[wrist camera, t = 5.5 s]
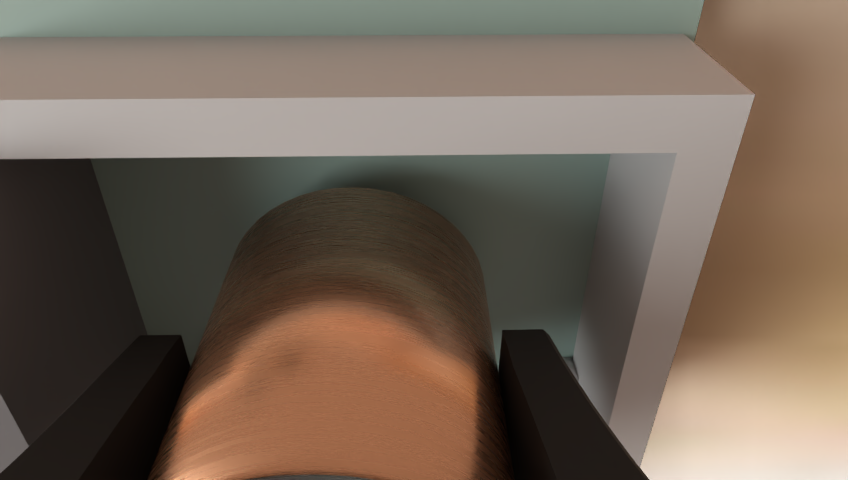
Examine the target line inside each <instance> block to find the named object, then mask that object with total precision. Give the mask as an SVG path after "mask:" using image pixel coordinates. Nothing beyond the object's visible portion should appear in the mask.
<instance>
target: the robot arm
mask: <svg viewBox="0 0 848 480" xmlns="http://www.w3.org/2000/svg"><path fill="white" fill-rule="evenodd" d="M189 370H190V364H189V360H188V357H187V353H186V350H185V346H184V343H183V339H182V336H181V335H140V336H139V337H138V338H137V339H136V340H135V341H134V342H133V343H132V344H131V345H130V346H129V347H127V348H126V349H125V350H124V351H123V352H122V353H121V354H120V355H119V356H118V357H117V358H116V359H115V360H114V361H113V362H112V363H111V364H110V365H109V366H108V368H107V369H106V370H105V371H104V372H103V373H102V374H101V375H100V376H99V377H98V378H97V379H96V380H95V381H94V382H93V383H92V384H91V385H90V386H89V387H88V388H87V389H86V390H85V391H84V392H83V393H82V394H81V395H80V396H79V397H78V398H77V399H76V400H75V401H74V402H73V403H72V404H71V405H70V406H69V407H68V408H67V409H66V410H65V411H64V412H63V413H62V414H61V415H60V416H59V417H58V418H57V419H56V420H55V421H54V422H53V423H52V424H51V425H50V426H49V427H48V428H47V429H46V430H45V431H44V432H43V433H42V434H41V435H40V436H39V437H38V438H37V439H36V440H35V441H34V442H33V443H32V444H31V445H30V446H29V447H28V448H27V449H26V450H24V451H23V452H22V453H21V454H20V455H19V456H18V457H17V458H16V459H15V460H14V461H13V462H12V463H11V464H10V465H9V466H8V467H7V468H6V469H4V470H3V471H2V472H1V473H0V480H147V479H148V476H149V474H150V471H151V468H152V466H153V463H154V461H155V458H156V455H157V453H158V450H159V448H160V445H161V442H162V440H163V437H164V435H165V432H166V429H167V427H168V424H169V422H170V419H171V416H172V414H173V411H174V409H175V406H176V403H177V401H178V398H179V396H180V393H181V390H182V388H183V385H184V383H185V380H186V377H187V375H188V372H189ZM498 375H499V381H500V388H501V394H502V401H503V407H504V414H505V420H506V427H507V433H508V440H509V446H510V453H511V459H512V466H513V472H514V479H515V480H649V479H648V478H647V476H646V475H645V474H644V473H643V471H642V470H641V469H640V467H639V466H638V465H637V464H636V462H635V461H634V460H633V458H632V457H631V456H630V454H629V453H628V452H627V450H626V449H625V448H624V446H623V445H622V444H621V442H620V441H619V439H618V438H617V437H616V435H615V434H614V433H613V431H612V430H611V429H610V427H609V426H608V425H607V423H606V422H605V420H604V419H603V418H602V416H601V415H600V413H599V412H598V411H597V409H596V408H595V406H594V405H593V403H592V402H591V400H590V399H589V397H588V396H587V394H586V393H585V391H584V390H583V389H582V387H581V386H580V384H579V383H578V381H577V379H576V378H575V376H574V375H573V373H572V372H571V370H570V369H569V367H568V365H567V364H566V362H565V361H564V359H563V357H562V356H561V354H560V352H559V351H558V349H557V347H556V346H555V344H554V342H553V341H552V339H551V337H550V335H549V334H548V333H547V332H546V331H544V330H543V329H526V330H502V338H501V348H500V359H499V369H498Z"/></svg>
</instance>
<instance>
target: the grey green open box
mask: <svg viewBox="0 0 848 480" xmlns="http://www.w3.org/2000/svg"><path fill="white" fill-rule="evenodd" d="M703 3H704V0H0V473H1V472H2V471H3V470H4V469H6V468H7V467H8V466H9V465H10V464H11V463H12V462H13V461H14V460H15V459H16V458H17V457H18V456H19V455H20V454H21V453H22V452H23V451H24V450H26V449H27V448H28V447H29V446H30V445H31V444H32V443H33V442H34V441H35V440H36V439H37V438H38V437H39V436H40V435H41V434H42V433H43V432H44V431H45V430H46V429H47V428H48V427H49V426H50V425H51V424H52V423H53V422H54V421H55V420H56V419H57V418H58V417H59V416H60V415H61V414H62V413H63V412H64V411H65V410H66V409H67V408H68V407H69V406H70V405H71V404H72V403H73V402H74V401H75V400H76V399H77V398H78V397H79V396H80V395H81V394H82V393H83V392H84V391H85V390H86V389H87V388H88V387H89V386H90V385H91V384H92V383H93V382H94V381H95V380H96V379H97V378H98V377H99V376H100V375H101V374H102V373H103V372H104V371H105V370H106V369H107V368H108V366H109V365H110V364H111V363H112V362H113V361H114V360H115V359H116V358H117V357H118V356H119V355H120V354H121V353H122V352H123V351H124V350H125V349H126V348H127V347H129V346H130V345H131V344H132V343H133V342H134V341H135V340H136V339H137V338H138V337H139V336H140V335H181V336H182V339H183V343H184V346H185V350H186V353H187V357H188V360H189V364H190V367H191V365H192V362H193V359H194V357H195V354H196V352H197V349H198V346H199V344H200V341H201V339H202V336H203V333H204V331H205V328H206V326H207V323H208V320H209V318H210V315H211V313H212V310H213V307H214V305H215V302H216V300H217V297H218V294H219V292H220V289H221V287H222V284H223V281H224V279H225V276H226V274H227V271H228V268H229V266H230V263H231V261H232V258H233V256H234V253H235V251H236V249H237V247H238V245H239V243H240V241H241V240H242V238H243V237H244V235H245V234H246V232H247V231H248V230H249V229H250V228H251V227H252V226H253V225H254V224H255V223H256V221H257V220H259V219H260V218H261V217H262V216H264V215H265V214H266V213H267V212H269V211H270V210H272V209H273V208H275V207H277V206H279V205H280V204H282V203H284V202H286V201H288V200H291V199H293V198H295V197H298V196H300V195H304V194H307V193H311V192H314V191H318V190H325V189H331V188H343V187H360V188H373V189H378V190H383V191H389V192H393V193H396V194H399V195H403V196H406V197H409V198H411V199H413V200H416V201H418V202H420V203H422V204H424V205H426V206H428V207H430V208H431V209H433V210H435V211H436V212H438V213H440V214H441V215H442V216H443V217H445V218H446V219H447V220H448V221H450V222H451V223H452V224H453V225H454V226H455V227H456V228H457V229H458V230H459V231H460V232H461V233H462V234H463V235H464V236H465V238H466V239H467V241H468V242H469V243H470V245H471V246H472V248H473V250H474V252H475V254H476V256H477V258H478V260H479V262H480V266H481V269H482V272H483V277H484V283H485V290H486V296H487V303H488V309H489V316H490V322H491V329H492V335H493V342H494V348H495V355H496V362H497V368H498V369H499V359H500V348H501V338H502V330H526V329H543V330H544V331H546V332H547V333H548V334H549V335H550V337H551V339H552V341H553V342H554V344H555V346H556V347H557V349H558V351H559V352H560V354H561V356H562V357H563V359H564V361H565V362H566V364H567V365H568V367H569V369H570V370H571V372H572V373H573V375H574V376H575V378H576V379H577V381H578V383H579V384H580V386H581V387H582V389H583V390H584V391H585V393H586V394H587V396H588V397H589V399H590V400H591V402H592V403H593V405H594V406H595V408H596V409H597V411H598V412H599V413H600V415H601V416H602V418H603V419H604V420H605V422H606V423H607V425H608V426H609V427H610V429H611V430H612V431H613V433H614V434H615V435H616V437H617V438H618V439H619V441H620V442H621V444H622V445H623V446H624V448H625V449H626V450H627V452H628V453H629V454H630V456H631V457H632V458H633V460H634V461H635V462H636V464H637V465H638V466H639V467H640V465H641V462H642V459H643V455H644V452H645V449H646V446H647V442H648V439H649V436H650V433H651V430H652V426H653V423H654V420H655V417H656V413H657V410H658V407H659V404H660V400H661V397H662V394H663V391H664V388H665V384H666V381H667V378H668V375H669V371H670V368H671V365H672V362H673V358H674V355H675V352H676V349H677V346H678V342H679V339H680V336H681V333H682V329H683V326H684V323H685V320H686V316H687V313H688V310H689V307H690V304H691V300H692V297H693V294H694V291H695V287H696V284H697V281H698V278H699V274H700V271H701V268H702V265H703V262H704V258H705V255H706V252H707V249H708V245H709V242H710V239H711V236H712V232H713V229H714V226H715V223H716V220H717V216H718V213H719V210H720V207H721V203H722V200H723V197H724V194H725V190H726V187H727V184H728V181H729V178H730V174H731V171H732V168H733V165H734V161H735V158H736V155H737V152H738V149H739V145H740V142H741V139H742V136H743V132H744V129H745V126H746V123H747V119H748V116H749V113H750V110H751V107H752V103H753V100H754V97H755V94H754V93H753V92H752V91H750V90H749V89H748V88H747V87H746V86H745V85H743V84H742V83H741V82H740V81H739V80H737V79H736V78H735V77H734V76H733V75H732V74H730V73H729V72H728V71H727V70H726V69H725V68H723V67H722V66H721V65H720V64H719V63H717V62H716V61H715V60H714V59H713V58H712V57H710V56H709V55H708V54H707V53H706V52H704V51H703V50H702V49H701V48H700V47H699V46H697V45H696V44H695V43H694V41H695V37H696V32H697V28H698V24H699V20H700V16H701V12H702V8H703Z"/></svg>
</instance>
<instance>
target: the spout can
mask: <svg viewBox="0 0 848 480" xmlns="http://www.w3.org/2000/svg"><path fill="white" fill-rule="evenodd" d="M147 480H515V479H514V472H513V466H512V459H511V453H510V446H509V440H508V433H507V427H506V420H505V414H504V407H503V401H502V394H501V388H500V381H499V375H498V368H497V362H496V355H495V348H494V342H493V335H492V329H491V322H490V316H489V309H488V303H487V296H486V290H485V283H484V277H483V272H482V269H481V266H480V262H479V260H478V258H477V256H476V254H475V252H474V250H473V248H472V246H471V245H470V243H469V242H468V241H467V239H466V238H465V236H464V235H463V234H462V233H461V232H460V231H459V230H458V229H457V228H456V227H455V226H454V225H453V224H452V223H451V222H450V221H448V220H447V219H446V218H445V217H443V216H442V215H441V214H440V213H438V212H436V211H435V210H433V209H431V208H430V207H428V206H426V205H424V204H422V203H420V202H418V201H416V200H413V199H411V198H409V197H406V196H403V195H399V194H396V193H393V192H389V191H383V190H378V189H373V188H360V187H343V188H331V189H325V190H318V191H314V192H311V193H307V194H304V195H300V196H298V197H295V198H293V199H291V200H288V201H286V202H284V203H282V204H280V205H279V206H277V207H275V208H273V209H272V210H270V211H269V212H267V213H266V214H265V215H264V216H262V217H261V218H260V219H259V220H257V221H256V223H255V224H254V225H253V226H252V227H251V228H250V229H249V230H248V231H247V232H246V234H245V235H244V237H243V238H242V240H241V241H240V243H239V245H238V247H237V249H236V251H235V253H234V256H233V258H232V261H231V263H230V266H229V268H228V271H227V274H226V276H225V279H224V281H223V284H222V287H221V289H220V292H219V294H218V297H217V300H216V302H215V305H214V307H213V310H212V313H211V315H210V318H209V320H208V323H207V326H206V328H205V331H204V333H203V336H202V339H201V341H200V344H199V346H198V349H197V352H196V354H195V357H194V359H193V362H192V365H191V367H190V370H189V372H188V375H187V377H186V380H185V383H184V385H183V388H182V390H181V393H180V396H179V398H178V401H177V403H176V406H175V409H174V411H173V414H172V416H171V419H170V422H169V424H168V427H167V429H166V432H165V435H164V437H163V440H162V442H161V445H160V448H159V450H158V453H157V455H156V458H155V461H154V463H153V466H152V468H151V471H150V474H149V476H148V479H147Z"/></svg>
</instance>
